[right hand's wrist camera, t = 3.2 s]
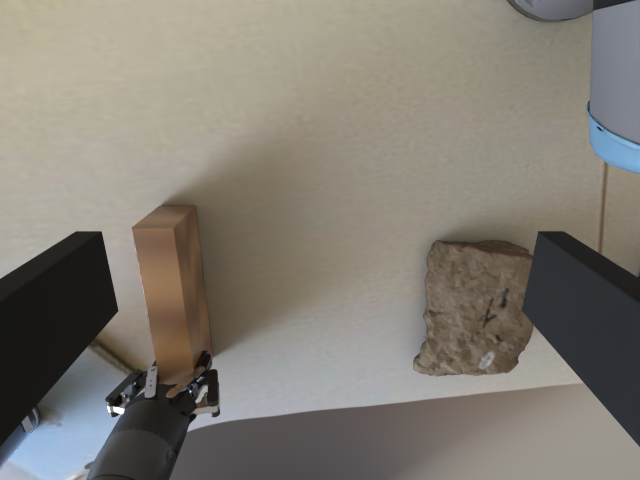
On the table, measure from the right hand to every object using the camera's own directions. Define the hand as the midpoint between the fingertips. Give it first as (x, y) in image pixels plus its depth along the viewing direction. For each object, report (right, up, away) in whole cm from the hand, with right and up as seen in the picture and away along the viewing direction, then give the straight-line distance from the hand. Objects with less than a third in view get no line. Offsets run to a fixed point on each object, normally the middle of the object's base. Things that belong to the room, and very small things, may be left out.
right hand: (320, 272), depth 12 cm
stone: (+21, -8, +47) cm, 52 cm away
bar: (-19, -6, +46) cm, 50 cm away
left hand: (-19, -16, +46) cm, 52 cm away
